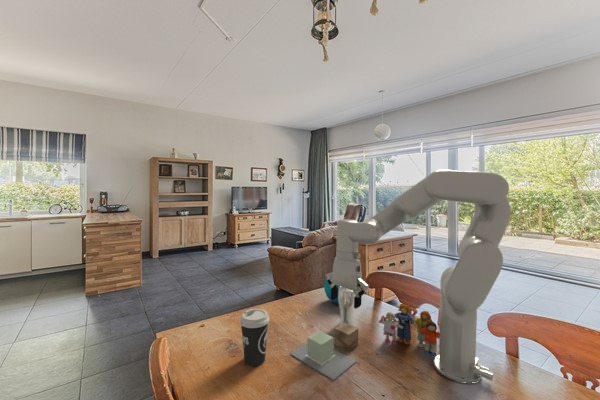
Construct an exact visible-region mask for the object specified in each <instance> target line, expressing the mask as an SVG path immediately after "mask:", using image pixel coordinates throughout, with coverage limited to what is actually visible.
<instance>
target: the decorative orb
mask: <svg viewBox="0 0 600 400" xmlns="http://www.w3.org/2000/svg"><path fill="white" fill-rule="evenodd" d="M331 279H332V276H331ZM323 287H324V292H325V295H326V298H328V300H330V301H331V302H333V303H334V304H337V305H339V302H338V298H336V299H334V300H331V288H330V285H329V283H328V280H327V278H326V279H325V281H324V285H323ZM336 287H338V295H339V287H340V286H336Z"/></svg>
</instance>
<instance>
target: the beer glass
mask: <svg viewBox="0 0 600 400" xmlns="http://www.w3.org/2000/svg"><path fill="white" fill-rule="evenodd" d="M355 296H356V295H355V293H354V292H353V290H349V289H346V288H343V287H339V295H338V302H339V304H338V309H339V315H340V316H339V317H340V318H339V321H338V326H339V325H341V324H343V323H347V324H349V325H352V326H354V327H355V319H354V316H355V315H354V314H355V308H354V297H355Z"/></svg>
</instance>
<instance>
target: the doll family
mask: <svg viewBox="0 0 600 400" xmlns="http://www.w3.org/2000/svg"><path fill="white" fill-rule="evenodd" d="M397 309H398V310H397V311H399V312H396V313H393V312H391V311H390V312H387V313H386V315H384V314H383V315H381V317H380V319H379V320H378V323H379V324H382V325H384V326H383V336H385V339H384V343H386V344H392V345H393V346H397V345H398V342H399V343H404V345H410V344H411V341H412V333H411V332H412V331H411V325H413V326H414V327H415V329H416V333H417V338H416V340H417V341H418V344H417V346H418V347H421V348H424V350H423V353H424V354H426V355H431V357H432V356H434V357H433V358H435V356H436V355H437V351H438V347H437V345H438V339H439V340H440V331H437V330H438V326H437V324H436V323H435V322H434V321H433V320H432V316H431V313H429V311H427V310H421V312H420V313H419V315H420V316H419V317H417V318H416V319H415V318H414V317H413V316H412V314H410V313H409V311H410V309H411V305H410V304H403V303H402V304H401V303H400V305H399V306H397ZM397 319H398V320H397ZM390 338H392V339H390ZM397 338H398V339H397ZM396 339H397V340H396Z"/></svg>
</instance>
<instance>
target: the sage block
mask: <svg viewBox="0 0 600 400" xmlns="http://www.w3.org/2000/svg"><path fill="white" fill-rule="evenodd" d="M307 343H308V350H307V355H308V356H309V357H311V358H313V359H314V360H316V361H318V362H320V363H321V364H322V363H323V362H325V361H326V360H327V359H329V358H330V357H332V356H333V349H334V337H333V336H331V335H329V334H327V333H325V332H322V330H321V331H320V330H318V331H317V332H314V333H313V334H311V335H309V336H308V337H307Z"/></svg>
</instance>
